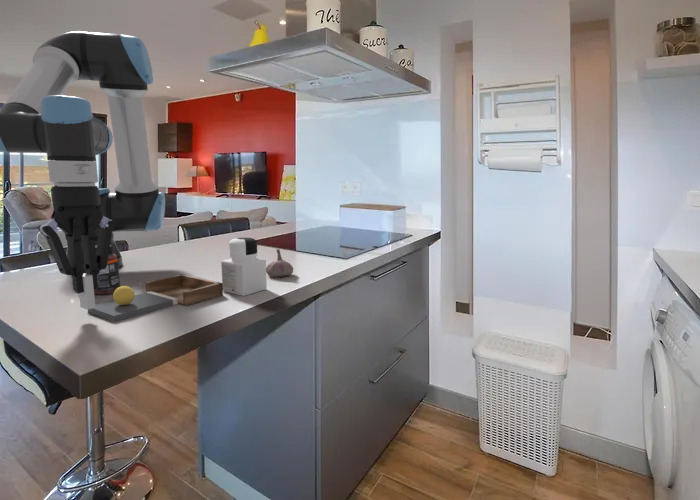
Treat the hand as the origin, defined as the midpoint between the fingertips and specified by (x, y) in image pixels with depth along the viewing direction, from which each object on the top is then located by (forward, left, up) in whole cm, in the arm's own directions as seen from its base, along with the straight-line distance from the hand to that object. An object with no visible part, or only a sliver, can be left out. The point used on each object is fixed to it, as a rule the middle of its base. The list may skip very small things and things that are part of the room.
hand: (88, 307), depth 82 cm
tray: (+1, +21, -3) cm, 21 cm away
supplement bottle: (-17, +12, -3) cm, 21 cm away
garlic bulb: (+6, +48, -3) cm, 49 cm away
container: (+9, +32, -3) cm, 34 cm away
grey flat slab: (0, +9, -3) cm, 9 cm away
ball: (0, +7, +1) cm, 7 cm away
